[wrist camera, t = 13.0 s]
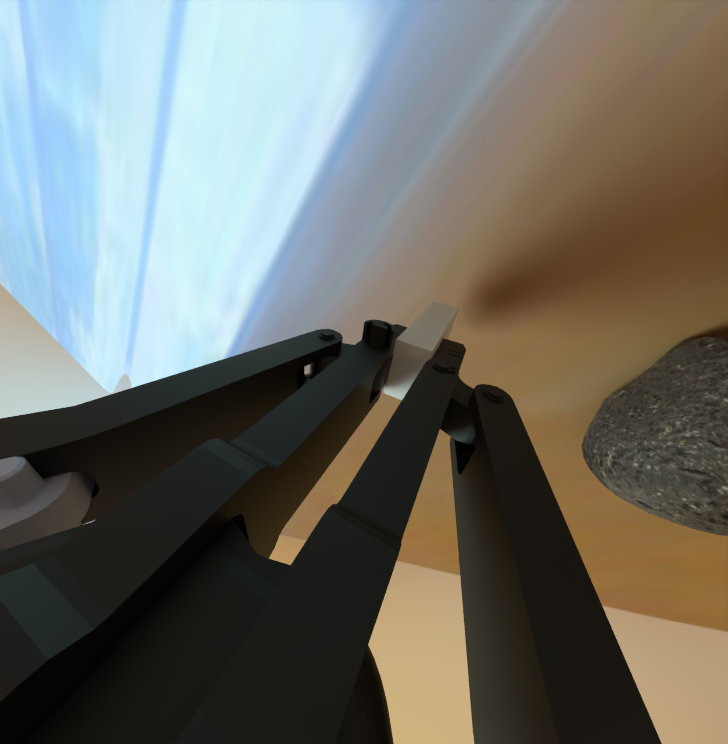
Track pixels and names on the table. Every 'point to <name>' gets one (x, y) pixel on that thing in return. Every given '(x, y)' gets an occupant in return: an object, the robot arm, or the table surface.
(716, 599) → the table surface
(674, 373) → the stone
